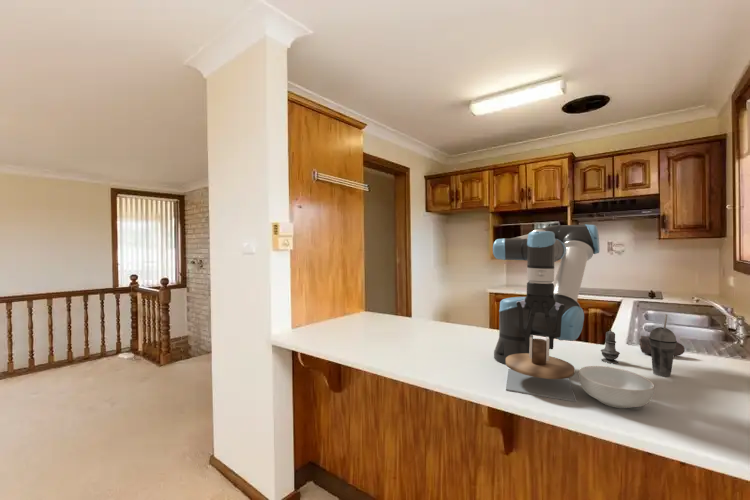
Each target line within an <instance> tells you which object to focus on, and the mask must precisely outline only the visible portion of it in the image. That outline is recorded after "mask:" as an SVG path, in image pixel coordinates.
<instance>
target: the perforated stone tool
mask: <svg viewBox="0 0 750 500" xmlns="http://www.w3.org/2000/svg"><path fill="white" fill-rule="evenodd" d="M649 336H650V335H641V336H640V338H639V339H638V340H639V341H638V342H639V346H640V347H639V348H640V350H641V352H642V353H643V354H648V355H651V345H650V341H649ZM685 350H686V349H685V346H684V345H683V344H682V343H680V342H678V341H677V343H676V347H675V349H674V356H673V357H678V356H681V355H683V354H684V353H685Z"/></svg>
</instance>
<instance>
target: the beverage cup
mask: <svg viewBox="0 0 750 500" xmlns="http://www.w3.org/2000/svg"><path fill="white" fill-rule="evenodd" d="M667 320H668V314H665V315H664V321H663V322H664V323H663V327H662V326H661V327H660V326H658V327H656V328H653V329H652V330H651V331H650V333H649V335H648V336H649V341H650V345H651V354H650V355H651V367H652V373H653V374H654V375H656V376H659V377H662V378H669V377H670V378H671V375H672V370H673V363H674V357H675V356H674V349H675V347H676V343H677V342H678V341H677V337H676V335H675V333H674V331H672V330H670V329H669V328H668V327H667Z"/></svg>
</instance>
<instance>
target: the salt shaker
mask: <svg viewBox="0 0 750 500" xmlns="http://www.w3.org/2000/svg"><path fill="white" fill-rule="evenodd" d="M604 342H605V346H604V348H602V349H601V350H600V352H601V355H602V357H603V358H601V362H604V363H606V362H607V364H611V363H613V365H614V363H615V365H617V364H616V363H618V364H619V361H618V360H617V359H618V358H619V356H620V351H617V350H616V343H617V341H616V333H615V332H614V331H612V329H611V328H610V329H609V331H606V332H605V340H604Z"/></svg>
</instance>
